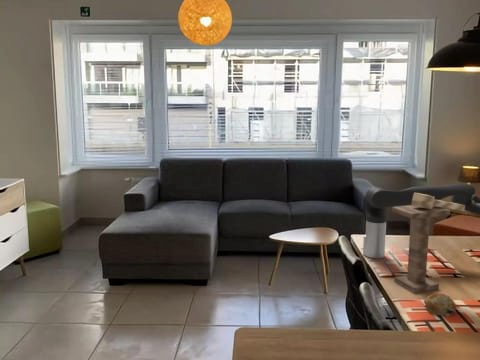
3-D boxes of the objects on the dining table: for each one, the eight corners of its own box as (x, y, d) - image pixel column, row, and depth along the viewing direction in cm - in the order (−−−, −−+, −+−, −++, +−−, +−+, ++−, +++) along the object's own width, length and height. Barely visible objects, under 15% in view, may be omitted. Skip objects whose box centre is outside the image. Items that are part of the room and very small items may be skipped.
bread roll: (435, 326, 165) (445, 310, 161) (415, 304, 172) (424, 289, 168) (455, 320, 170) (465, 304, 165) (434, 299, 177) (443, 284, 173)
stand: (407, 293, 183) (411, 213, 178) (388, 282, 194) (392, 206, 189) (444, 287, 189) (450, 210, 183) (424, 277, 200) (429, 203, 195)
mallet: (419, 207, 183) (422, 194, 182) (411, 204, 187) (414, 192, 187) (465, 214, 191) (468, 203, 191) (456, 212, 196) (459, 200, 196)
